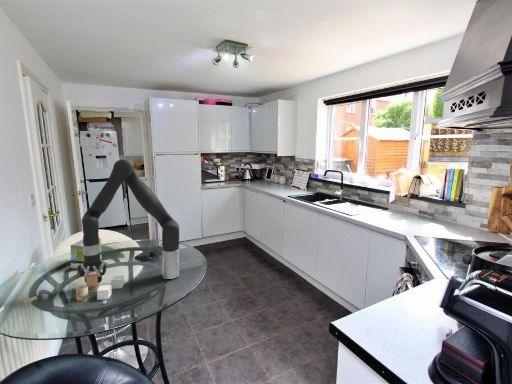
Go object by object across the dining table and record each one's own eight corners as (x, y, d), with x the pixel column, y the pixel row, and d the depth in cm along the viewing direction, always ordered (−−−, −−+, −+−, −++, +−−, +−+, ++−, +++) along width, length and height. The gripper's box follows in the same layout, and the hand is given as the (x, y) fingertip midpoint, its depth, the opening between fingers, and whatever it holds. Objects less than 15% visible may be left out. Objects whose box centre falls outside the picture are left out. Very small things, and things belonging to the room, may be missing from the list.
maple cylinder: (90, 294, 135) (89, 285, 134) (86, 300, 130) (85, 291, 129) (78, 295, 134) (78, 286, 133) (74, 301, 129) (73, 291, 128)
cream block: (111, 293, 137) (111, 284, 136) (108, 299, 132) (108, 289, 132) (100, 294, 136) (100, 285, 135) (97, 299, 131) (97, 290, 131)
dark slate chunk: (169, 251, 196) (169, 244, 195) (152, 263, 174) (152, 256, 174) (150, 248, 199) (150, 242, 198) (131, 260, 177) (131, 253, 177)
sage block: (124, 283, 148) (123, 275, 147) (121, 288, 143) (121, 279, 142) (114, 284, 147) (114, 275, 146) (111, 288, 142) (111, 280, 141)
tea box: (87, 269, 160) (86, 246, 158) (70, 268, 161) (69, 245, 158) (102, 259, 175) (101, 237, 173) (86, 258, 175) (85, 236, 173)
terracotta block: (100, 281, 145) (100, 272, 144) (97, 285, 140) (96, 276, 139) (90, 281, 143) (89, 272, 143) (86, 286, 139) (86, 277, 138)
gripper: (109, 248, 144) (110, 278, 147) (79, 249, 141) (81, 279, 144) (104, 254, 137) (106, 285, 140) (73, 255, 133) (75, 287, 136)
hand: (93, 282), depth 142 cm, fingers closed on terracotta block, 5 cm apart
